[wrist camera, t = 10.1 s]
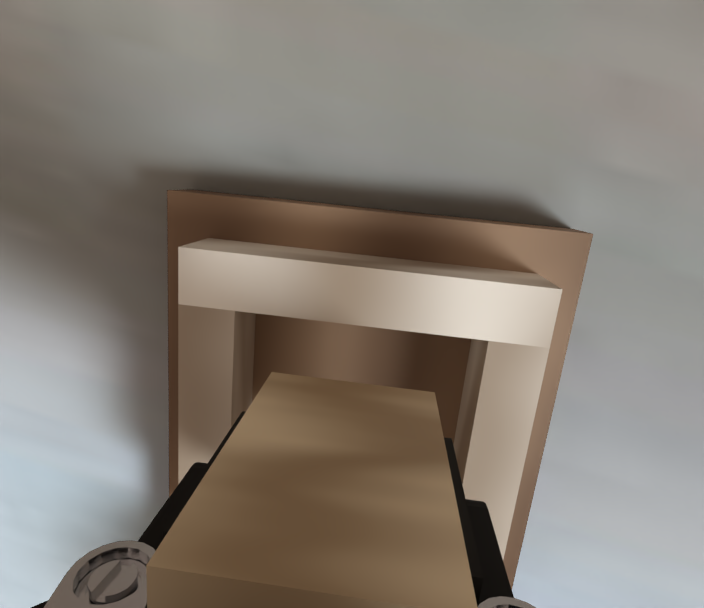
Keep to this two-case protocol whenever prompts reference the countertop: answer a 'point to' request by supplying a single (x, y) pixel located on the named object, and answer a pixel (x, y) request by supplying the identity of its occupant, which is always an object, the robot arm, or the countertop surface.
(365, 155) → the countertop surface
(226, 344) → the board
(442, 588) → the tan wooden block
